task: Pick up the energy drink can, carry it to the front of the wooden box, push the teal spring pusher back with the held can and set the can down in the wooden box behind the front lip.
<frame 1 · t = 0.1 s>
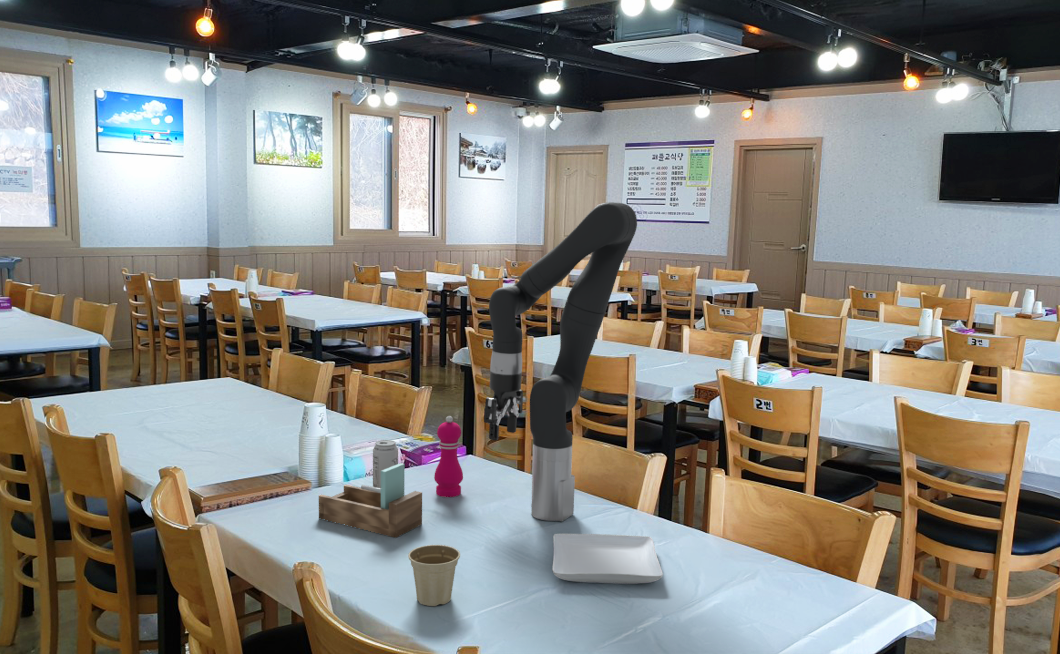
hand: (502, 435, 206), 17 cm above the table, tool pointing down, fingers open, 8 cm apart
pusher: (378, 490, 193), point 8 cm above the table, slide at 0.0 cm
salad plate: (604, 569, 173), on the table
energy drink can: (385, 503, 208), on the table
wooden box: (370, 521, 195), on the table
pepper mill: (448, 494, 216), on the table
flower pot: (433, 600, 157), on the table
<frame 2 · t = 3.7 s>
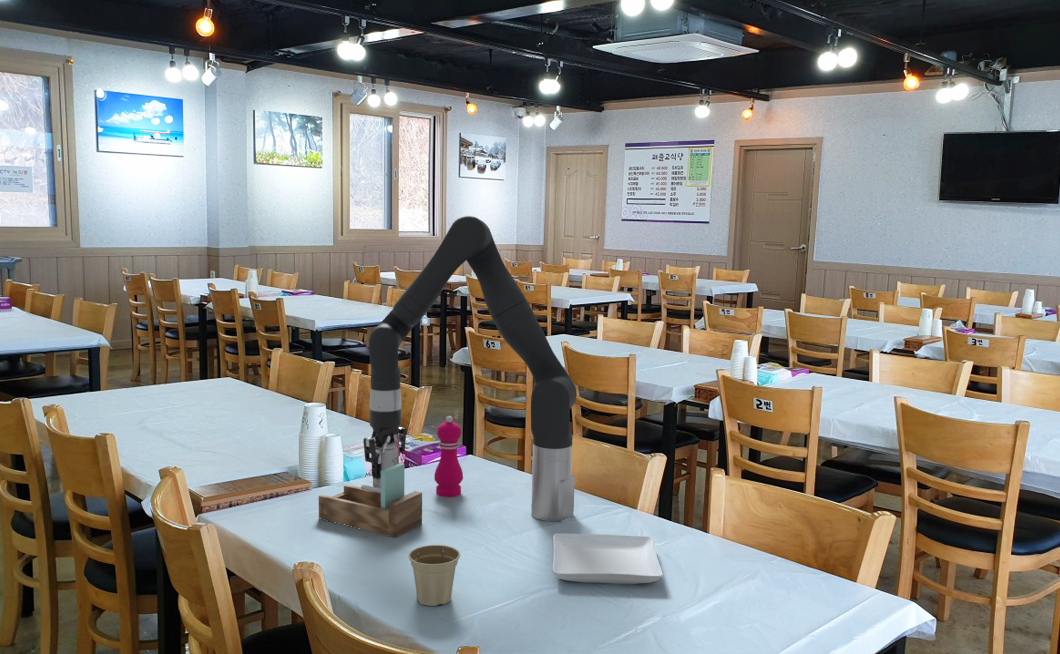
hand: (385, 474, 207), 7 cm above the table, tool pointing down, fingers closed on energy drink can, 6 cm apart
energy drink can: (385, 503, 208), on the table, touching gripper
everything else where it was.
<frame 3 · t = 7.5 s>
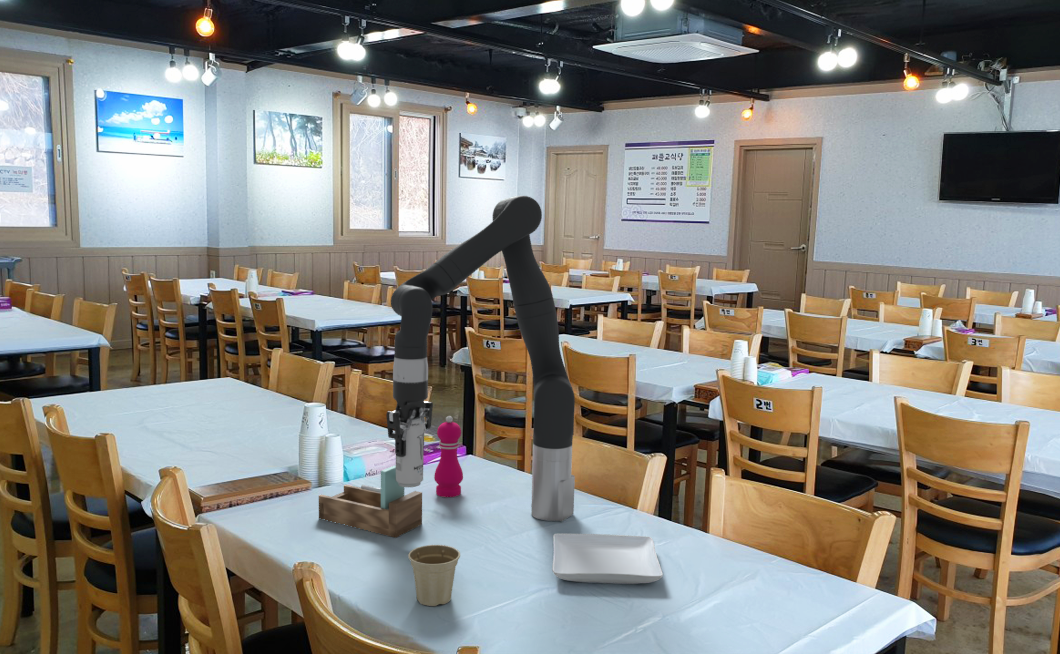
hand: (409, 452, 188), 18 cm above the table, tool pointing down, fingers closed on energy drink can, 6 cm apart
energy drink can: (409, 484, 189), point 11 cm above the table, touching gripper
everything else where it was.
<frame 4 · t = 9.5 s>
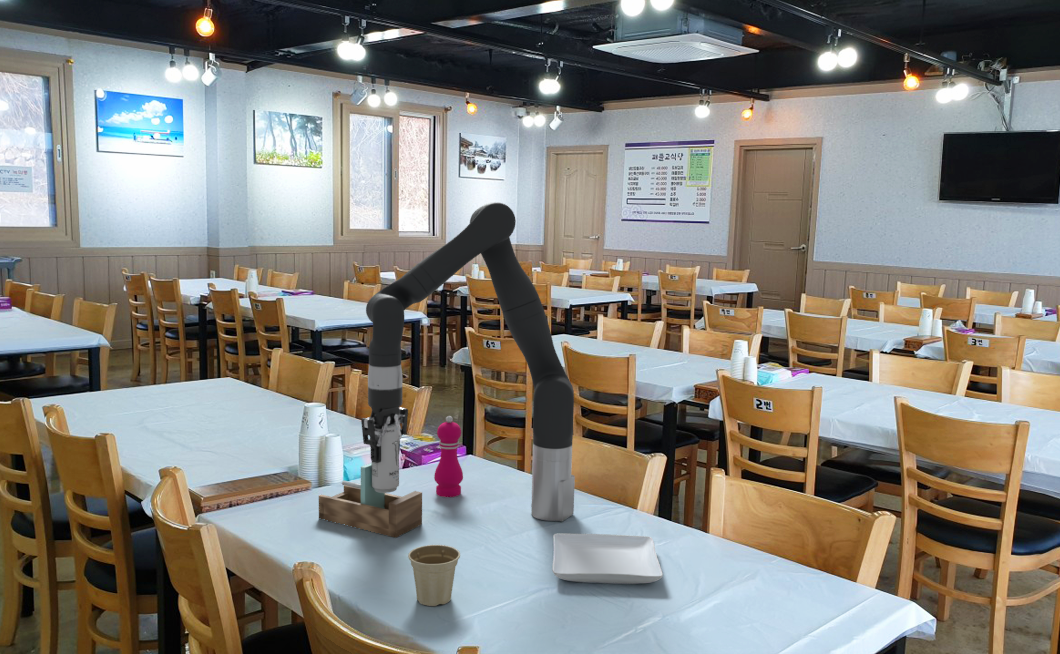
hand: (385, 458, 191), 16 cm above the table, tool pointing down, fingers closed on energy drink can, 6 cm apart
pusher: (358, 486, 195), point 8 cm above the table, slide at 5.6 cm
energy drink can: (385, 490, 192), point 8 cm above the table, touching gripper
everything else where it was.
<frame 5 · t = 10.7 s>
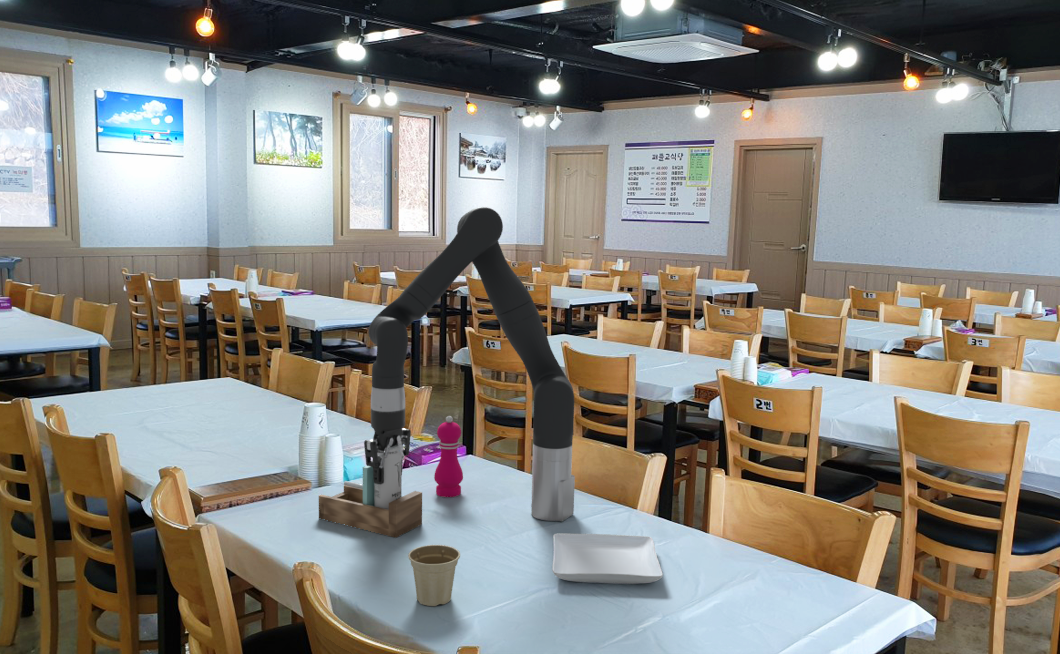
hand: (388, 479, 191), 11 cm above the table, tool pointing down, fingers closed on energy drink can, 6 cm apart
pusher: (360, 486, 195), point 8 cm above the table, slide at 5.1 cm
energy drink can: (387, 511, 192), point 3 cm above the table, touching gripper
everything else where it was.
when the fingers open (10 cm above the table, at t = 11.4 s): energy drink can drops 1 cm, resting on wooden box, pusher.
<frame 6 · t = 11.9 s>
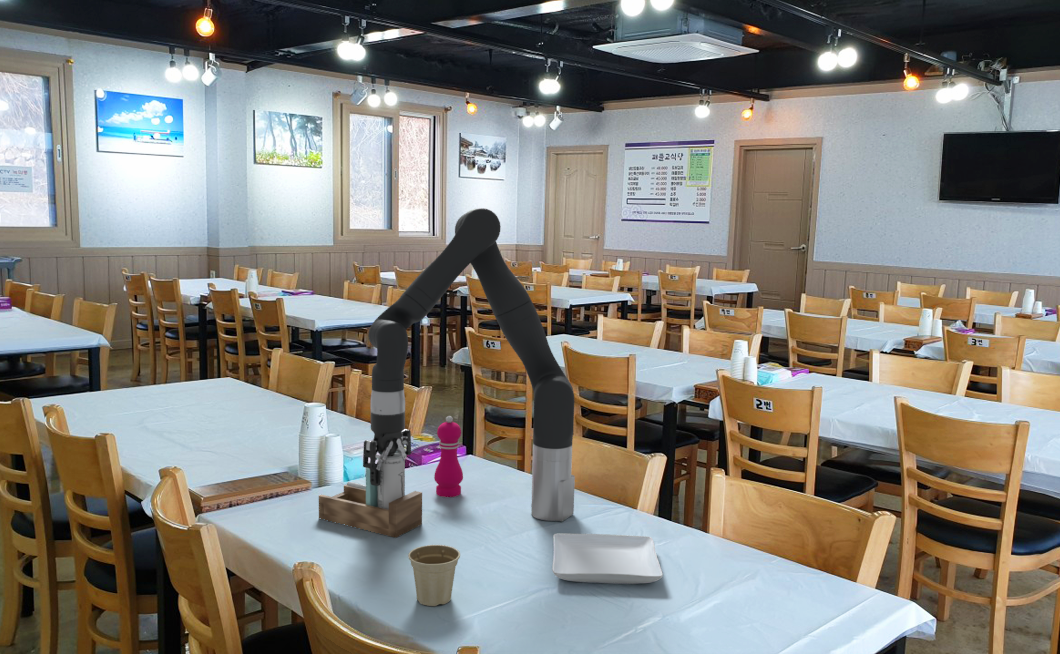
hand: (387, 480, 191), 11 cm above the table, tool pointing down, fingers open, 8 cm apart
pusher: (363, 487, 195), point 8 cm above the table, slide at 4.2 cm, touching energy drink can
energy drink can: (391, 520, 192), point 1 cm above the table, touching wooden box, pusher
everything else where it was.
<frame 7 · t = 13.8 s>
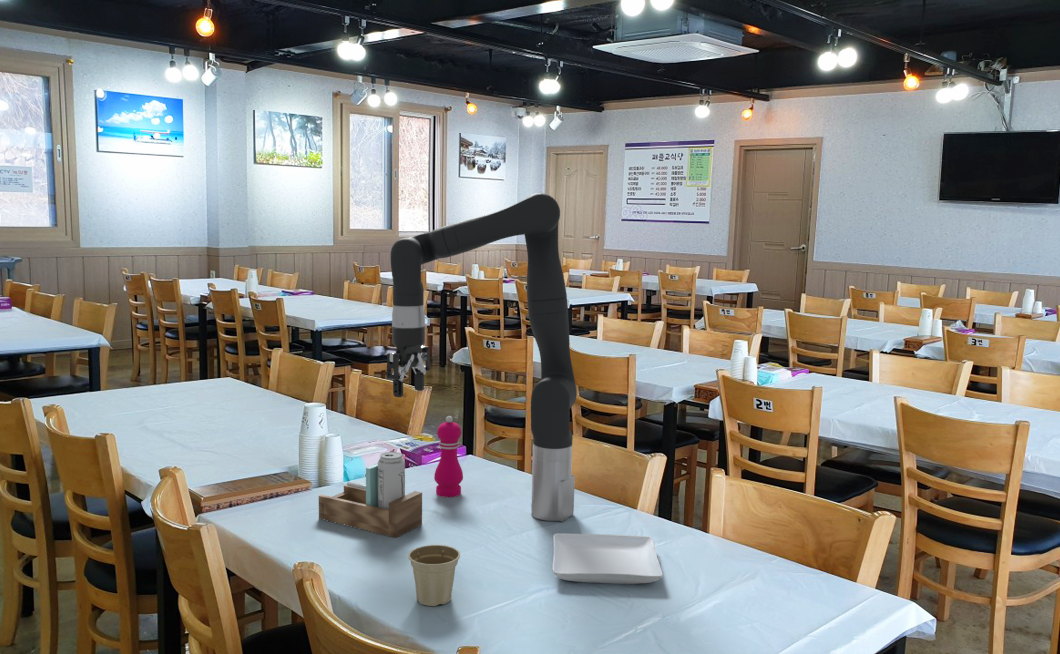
hand: (409, 393, 199), 28 cm above the table, tool pointing down, fingers open, 8 cm apart
nothing on the table moved.
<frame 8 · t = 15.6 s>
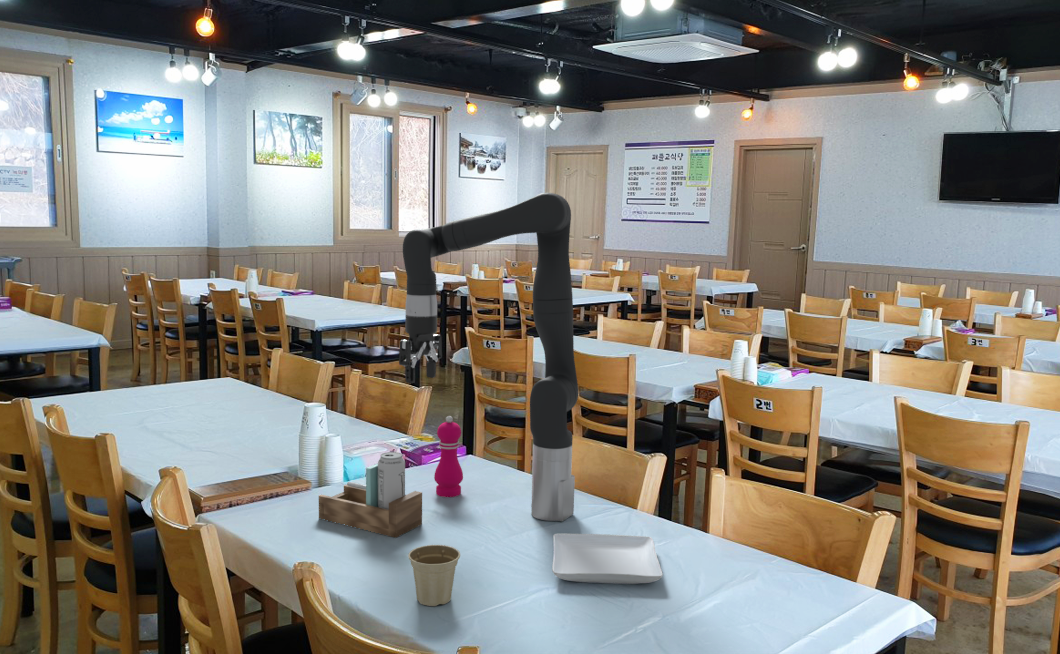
hand: (420, 379, 206), 30 cm above the table, tool pointing down, fingers open, 8 cm apart
nothing on the table moved.
at the end: energy drink can inside the target area (0.9 cm from its centre), point 1.3 cm above the table; energy drink can tilted 0°; pusher slide at 4.1 cm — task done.
